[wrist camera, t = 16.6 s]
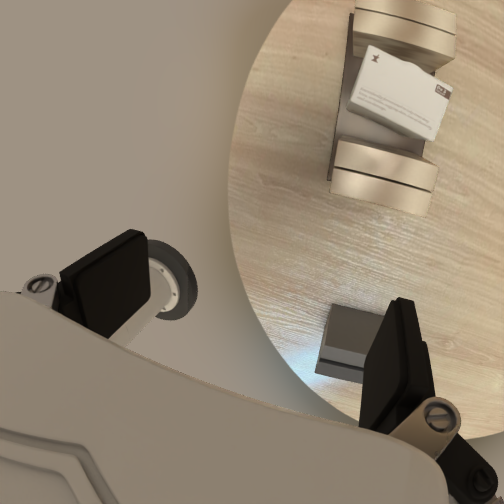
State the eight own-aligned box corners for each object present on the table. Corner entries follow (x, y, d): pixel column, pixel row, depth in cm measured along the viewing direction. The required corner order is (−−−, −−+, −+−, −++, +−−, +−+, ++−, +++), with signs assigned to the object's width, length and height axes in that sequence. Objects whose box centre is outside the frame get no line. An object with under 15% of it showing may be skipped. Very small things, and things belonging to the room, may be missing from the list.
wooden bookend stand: (327, 178, 40) (316, 203, 29) (349, 15, 29) (346, -25, 18) (409, 199, 38) (431, 232, 26) (435, 37, 27) (465, 7, 15)
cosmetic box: (345, 110, 35) (342, 102, 22) (360, 69, 32) (365, 40, 19) (404, 137, 34) (433, 147, 21) (420, 97, 31) (456, 86, 18)
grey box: (324, 327, 50) (314, 373, 41) (332, 303, 48) (323, 347, 38) (378, 340, 48) (378, 387, 39) (389, 317, 46) (392, 363, 36)
